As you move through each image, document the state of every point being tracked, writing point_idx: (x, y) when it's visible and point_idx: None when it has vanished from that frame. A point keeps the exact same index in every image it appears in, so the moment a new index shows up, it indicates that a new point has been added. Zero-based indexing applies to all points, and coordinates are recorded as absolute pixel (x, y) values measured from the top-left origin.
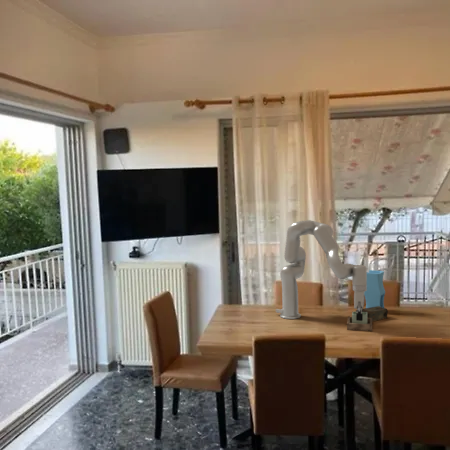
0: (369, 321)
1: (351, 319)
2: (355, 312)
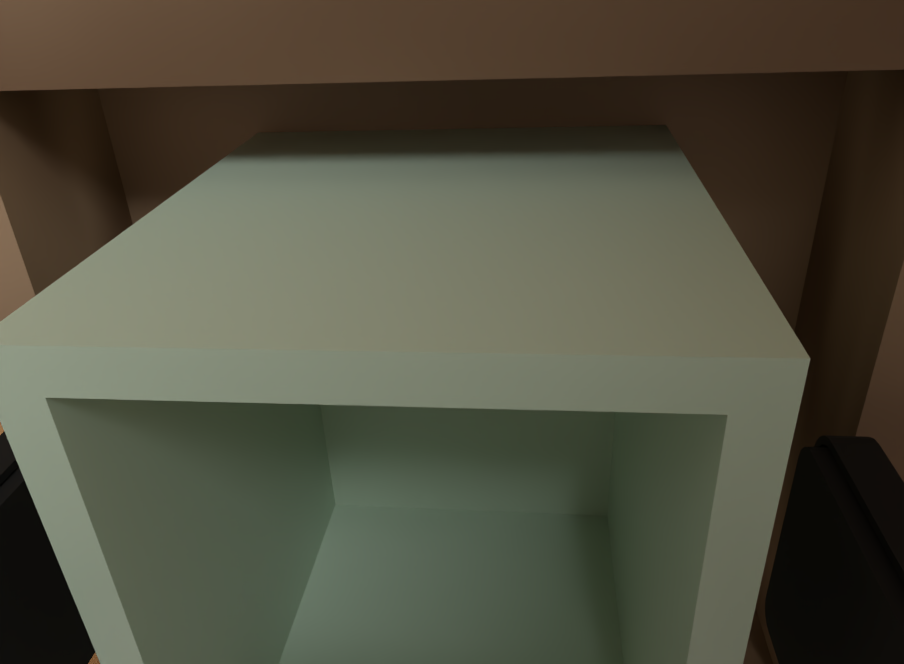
0: (757, 607)
1: (898, 99)
2: (704, 502)
